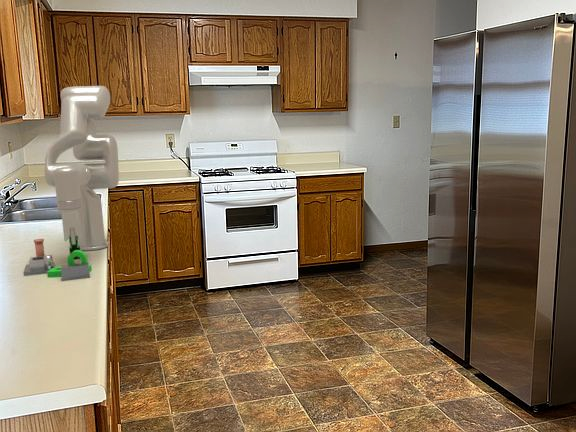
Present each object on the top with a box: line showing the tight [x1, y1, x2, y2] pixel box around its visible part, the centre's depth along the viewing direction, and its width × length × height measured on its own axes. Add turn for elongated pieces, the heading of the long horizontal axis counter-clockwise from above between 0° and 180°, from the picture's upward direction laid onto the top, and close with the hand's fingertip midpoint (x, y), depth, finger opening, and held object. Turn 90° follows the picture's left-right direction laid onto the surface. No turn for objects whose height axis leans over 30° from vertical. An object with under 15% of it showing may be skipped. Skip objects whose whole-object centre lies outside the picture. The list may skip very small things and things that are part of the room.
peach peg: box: [32, 238, 46, 257], centre depth 193 cm, size 3×3×9 cm
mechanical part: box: [46, 250, 93, 279], centre depth 181 cm, size 12×6×8 cm, turn 95°
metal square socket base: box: [23, 254, 56, 277], centre depth 186 cm, size 10×9×5 cm
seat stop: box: [60, 262, 91, 282], centre depth 176 cm, size 3×8×4 cm, turn 110°
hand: (75, 258), depth 191 cm, fingers closed
